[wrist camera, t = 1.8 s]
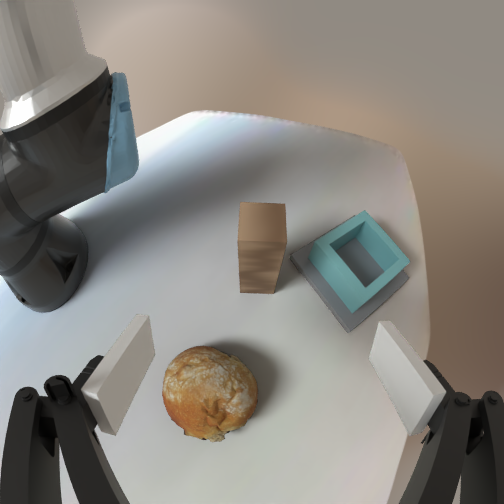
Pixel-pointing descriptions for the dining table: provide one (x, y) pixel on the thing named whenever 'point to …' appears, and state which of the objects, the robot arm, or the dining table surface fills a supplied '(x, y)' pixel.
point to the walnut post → (261, 245)
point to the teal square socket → (353, 268)
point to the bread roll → (209, 393)
